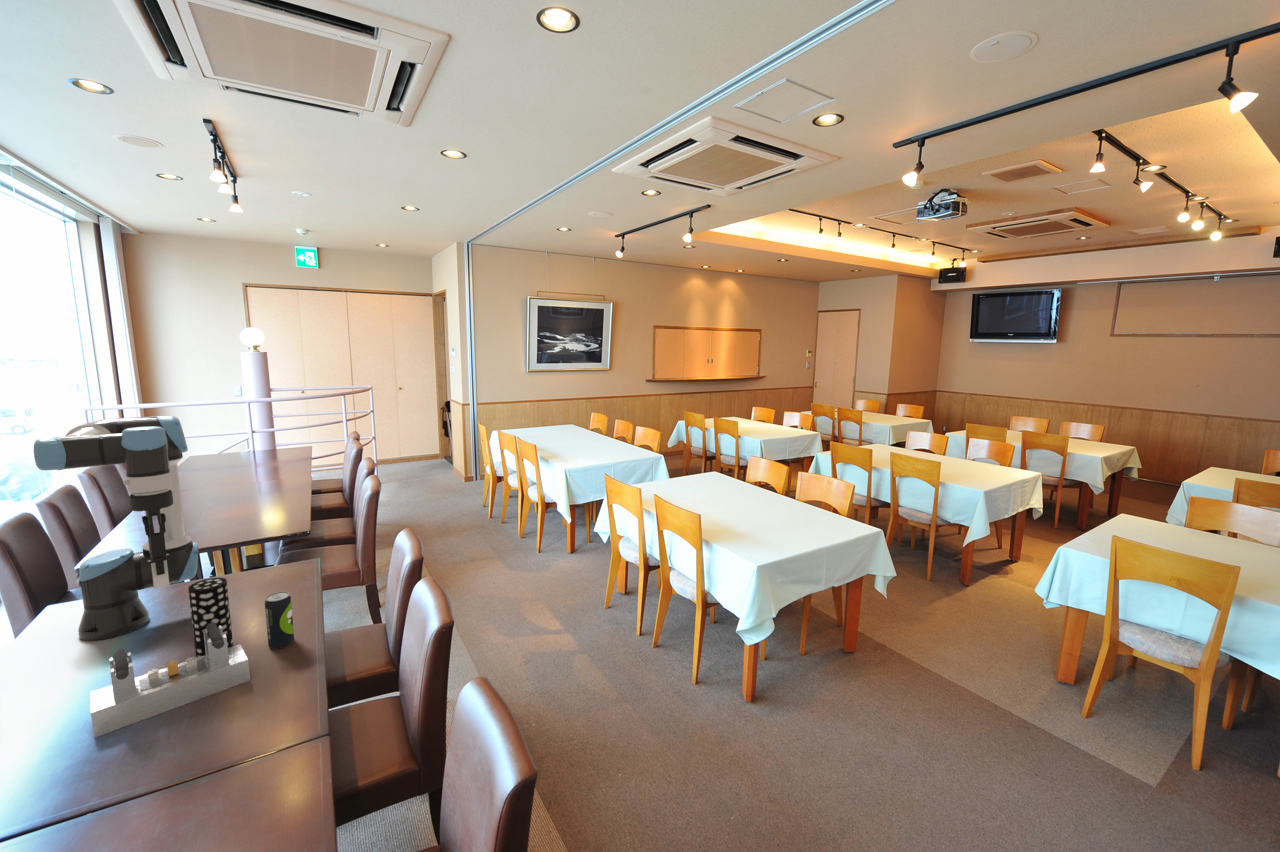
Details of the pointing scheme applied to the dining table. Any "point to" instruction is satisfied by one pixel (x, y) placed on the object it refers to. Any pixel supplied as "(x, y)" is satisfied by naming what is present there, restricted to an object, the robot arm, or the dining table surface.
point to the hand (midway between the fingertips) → (161, 585)
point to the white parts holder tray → (167, 686)
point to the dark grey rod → (215, 635)
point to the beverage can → (279, 620)
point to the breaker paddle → (172, 668)
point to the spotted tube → (209, 610)
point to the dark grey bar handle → (121, 664)
